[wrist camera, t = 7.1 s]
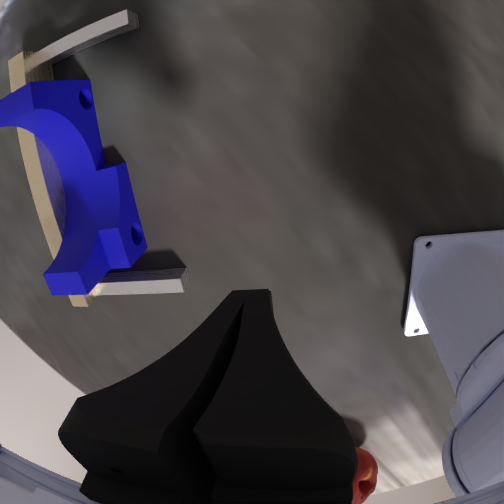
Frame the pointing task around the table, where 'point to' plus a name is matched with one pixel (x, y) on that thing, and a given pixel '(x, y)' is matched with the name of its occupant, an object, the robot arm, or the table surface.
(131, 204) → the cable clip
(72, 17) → the table surface
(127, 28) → the frame
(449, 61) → the table surface
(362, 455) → the fruit
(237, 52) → the table surface
